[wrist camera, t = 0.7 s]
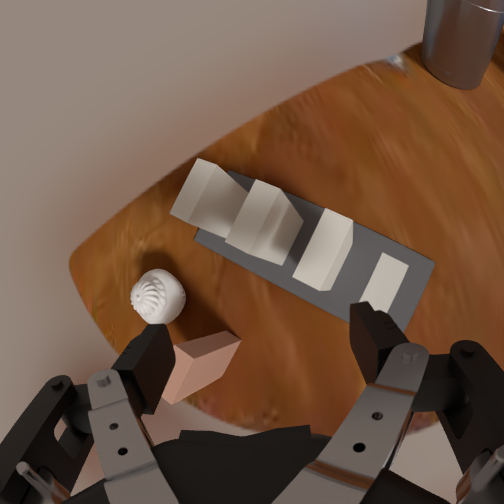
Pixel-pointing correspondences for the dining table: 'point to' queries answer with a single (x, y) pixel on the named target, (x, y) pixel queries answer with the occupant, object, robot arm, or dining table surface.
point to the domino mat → (351, 273)
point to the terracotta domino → (199, 364)
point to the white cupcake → (158, 297)
